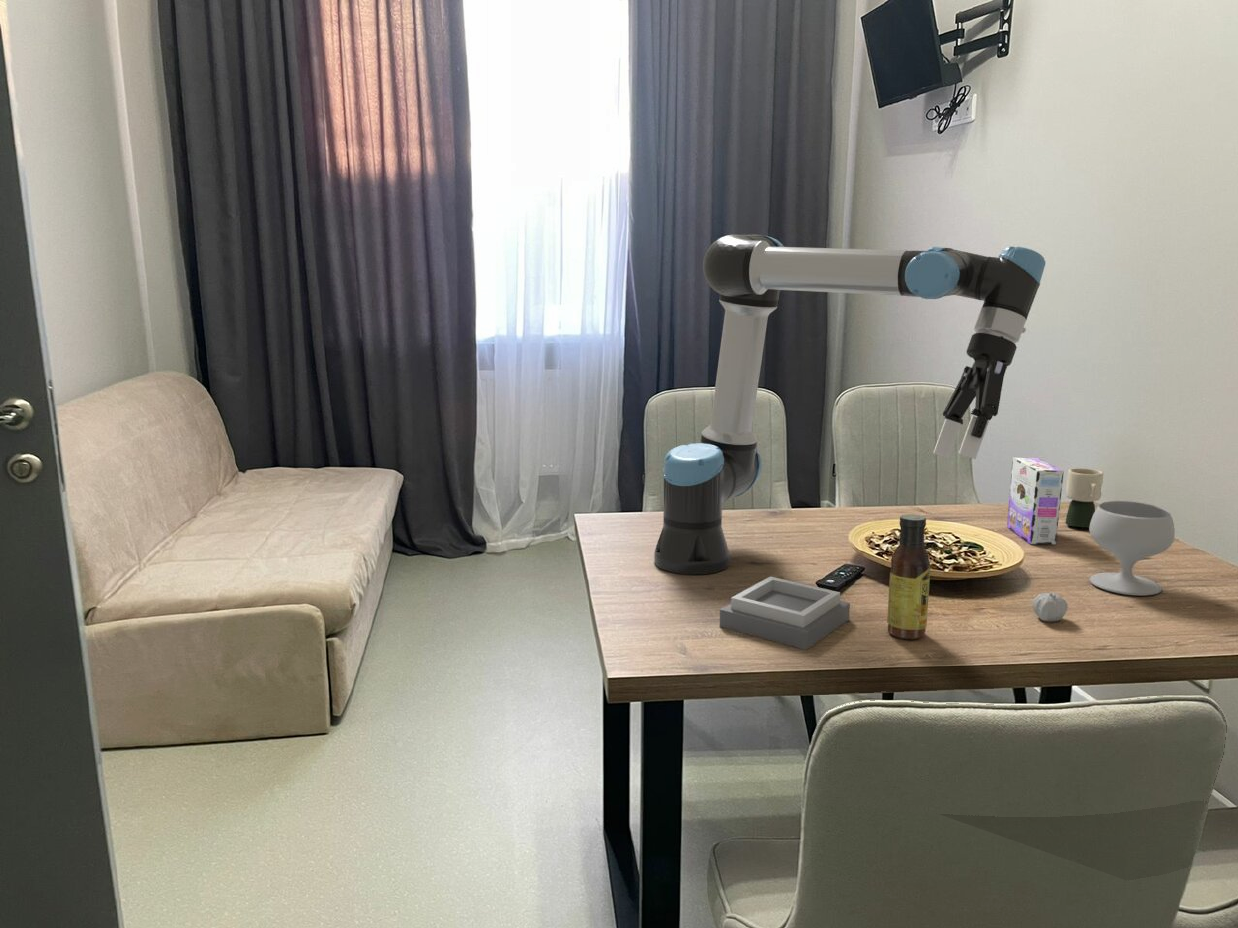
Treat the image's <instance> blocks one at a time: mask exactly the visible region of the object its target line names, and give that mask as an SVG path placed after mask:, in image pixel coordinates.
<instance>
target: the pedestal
mask: <svg viewBox="0 0 1238 928" xmlns="http://www.w3.org/2000/svg"><path fill="white" fill-rule="evenodd" d="M850 610H851V602H847V601H843V600H841V591H837V590H836V591H835V590H831V589H827V588H824V587H823V588H822V587H818V586H813V585H809V584H805V583H801V582H797V581H796V582H795V581H792V580H788V579H783V578H778V577H775V576H768V577H767V578H765V579H763V580H762V581H759V582H757V583H756V584H753V585H751V586H749V587H748V588H746V589H744V590H742V591H741V592H739V593H737V594H736V595H733V596H732V597H730V603H729V604H727V605H726V606H724V607H722V608H720V609H719V627H721V628H725V629H727V630H731V631H734V632H735V631H736V632H739V633H743V634H746V635H750V636H754V637H758V638H761V639H764V640H768V641H773V642H775V643H779V644H783V645H787V646H790V647H794V648H796V649H797V648H798V649H801V650H805V651H806V650H808V649H810V648H811V647H813V646H815V644H816V643H818V642H820V641H822V640H823V639H824V638H825V637H827V636H828V635H829V634H831V633H832V632H834V631H835V630H837V629H838V628H840V627H841V626H842V625H844V624H845V623H847V622H848V621H850Z"/></svg>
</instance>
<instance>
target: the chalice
mask: <svg viewBox="0 0 1238 928" xmlns="http://www.w3.org/2000/svg"><path fill="white" fill-rule="evenodd" d="M1088 529H1089V533H1090V536H1091V539H1092V540H1093V541H1094V542H1095V543H1096V544H1097V545H1098V546H1099V547H1101V548H1102V549H1105V550H1106V551H1107V552H1109V553H1111V554H1112V555H1113V556H1114V557H1116V558H1117V559H1118V561H1119V563H1120V567H1121V568H1120V572H1101V573H1095V574H1093V575H1091V576H1090V577H1089V578H1088V581H1089V582H1090V583H1091V584H1092V585H1093V586H1095V587H1096V588H1098V589H1099V588H1100V589H1101V590H1104V591H1108V592H1111V593H1116V594H1121V595H1127V596H1140V597H1141V596H1153V595H1157V594H1160V593H1161V592H1162V590H1163V589H1162V587H1161V585H1159V584H1158V583H1157V582H1156V581H1154V580H1151V579H1149V578H1146V577H1143V576H1139V575H1134V574H1133V569H1134V566H1135V564H1137V563H1138V562H1139V561H1141V560H1144V559H1146V558H1150V557H1152V556H1156V555H1159V554H1161V553H1164V552H1165V551H1167V550H1168V549H1170V548H1171V547H1172V545H1173V544H1174V541H1175V536H1176V535H1175V533H1176V532H1175V530H1176V528H1175V524H1174V519H1173V516H1172V514H1171V513H1170V511H1169V510H1167V509H1166V508H1163V507H1161V506H1157V505H1153V504H1149V503H1144V502H1136V501H1127V500H1126V501H1125V500H1121V501H1120V500H1114V501H1113V500H1111V501H1104V502H1101V503H1100V504H1098V506H1097V508H1095V512H1094V514H1093V517H1092V519H1091V523H1090V528H1088Z"/></svg>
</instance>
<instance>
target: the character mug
mask: <svg viewBox="0 0 1238 928" xmlns="http://www.w3.org/2000/svg"><path fill="white" fill-rule="evenodd" d="M1103 483H1104V472H1103V471H1101V470H1098V469H1093V468H1087V467H1086V468H1085V467H1077V468H1076V467H1074V468H1069V469H1068V473H1067V481H1066V492H1065V495H1066V498H1068V499H1070V500H1071V501H1070V502H1069V506H1068V509H1067V513H1066V518H1065V522H1064V524H1065V525H1067V526H1071V527H1080V528H1081V529H1082V528H1084V529H1085V528H1088V529H1089V528H1090V523H1091V519H1092V517H1093V514H1094V512H1095V510H1096V505H1095V502H1096V501H1100V499H1101V497H1102V485H1103Z"/></svg>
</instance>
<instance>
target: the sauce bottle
mask: <svg viewBox="0 0 1238 928" xmlns="http://www.w3.org/2000/svg"><path fill="white" fill-rule="evenodd" d="M926 526H927V517H925V516H923V515H920V514H913V513H912V514H911V513H908V514H902V515H900V516H899V527H900V531H899V534H900V535H899V538H898V540H899V544H898V546H897V547H896V548H895V550H894V551H893V553H892V555H891V559H890V560H891V561H890V562H891V563H890V564H891V565H890V571H889V583H888V602H887V603H888V604H887V617H886V618H887V621H886V622H887V624H888V625H887V633H889V634H890V635H891V636H892V637H894V638H895V637H896V638H898V639H901V640H902V639H903V640H911V641H912V640H913V641H914V640H917V639H921V638H923V637H924V636H925V634H926V630H927V629H926V628H927V624H928V612H929V610H928V609H929V599H930V597H929V594H930V581H931V580H930V578H931V562H930V559H929V556H928V553H927V549H926V546H925V528H926Z"/></svg>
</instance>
